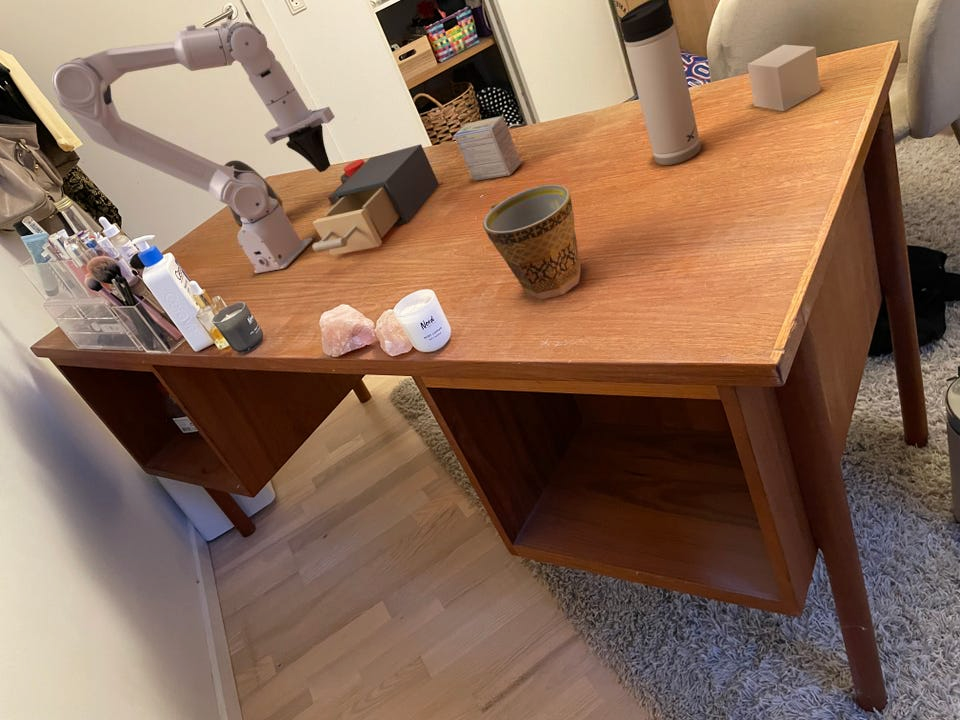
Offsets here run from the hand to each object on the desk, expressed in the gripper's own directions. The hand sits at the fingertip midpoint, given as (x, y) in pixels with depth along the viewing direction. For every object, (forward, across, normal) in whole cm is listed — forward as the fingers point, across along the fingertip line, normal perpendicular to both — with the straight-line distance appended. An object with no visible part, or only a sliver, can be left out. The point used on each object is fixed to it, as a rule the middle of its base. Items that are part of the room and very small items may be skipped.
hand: (325, 168), depth 120 cm
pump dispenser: (+10, +27, -4) cm, 29 cm away
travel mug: (+13, -59, +1) cm, 61 cm away
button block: (+11, +8, -15) cm, 20 cm away
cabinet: (+11, -9, -1) cm, 14 cm away
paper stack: (+12, -27, -7) cm, 31 cm away
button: (+8, +8, -15) cm, 19 cm away
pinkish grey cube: (+14, -72, -10) cm, 74 cm away
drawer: (+10, -10, +11) cm, 17 cm away
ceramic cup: (+12, -49, +29) cm, 58 cm away
